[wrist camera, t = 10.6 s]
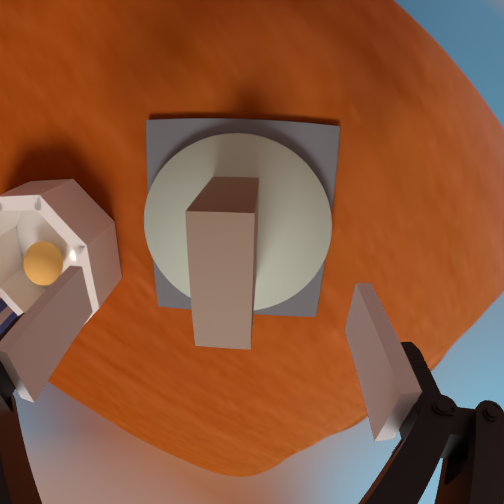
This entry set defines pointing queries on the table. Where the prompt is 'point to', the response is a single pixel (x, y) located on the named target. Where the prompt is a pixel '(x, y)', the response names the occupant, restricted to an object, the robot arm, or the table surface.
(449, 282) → the table surface
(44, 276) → the clementine
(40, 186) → the bowl
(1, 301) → the walkman
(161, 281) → the mat
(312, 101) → the table surface
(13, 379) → the robot arm
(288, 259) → the lid
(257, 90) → the table surface
